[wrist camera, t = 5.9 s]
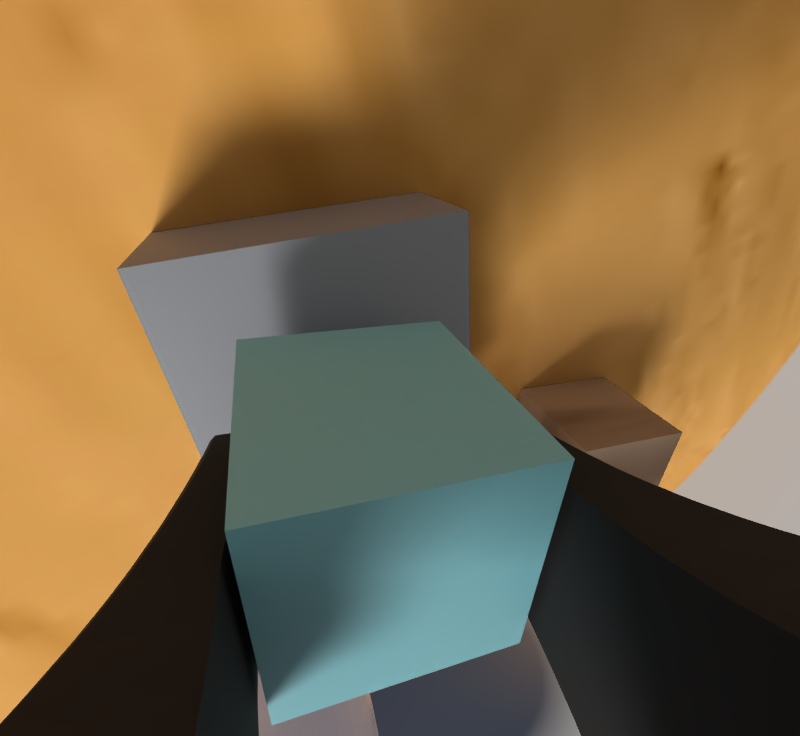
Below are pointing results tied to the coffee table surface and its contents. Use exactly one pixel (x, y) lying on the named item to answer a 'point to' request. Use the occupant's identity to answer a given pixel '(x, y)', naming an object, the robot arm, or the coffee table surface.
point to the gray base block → (292, 286)
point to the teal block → (381, 509)
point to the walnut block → (605, 425)
